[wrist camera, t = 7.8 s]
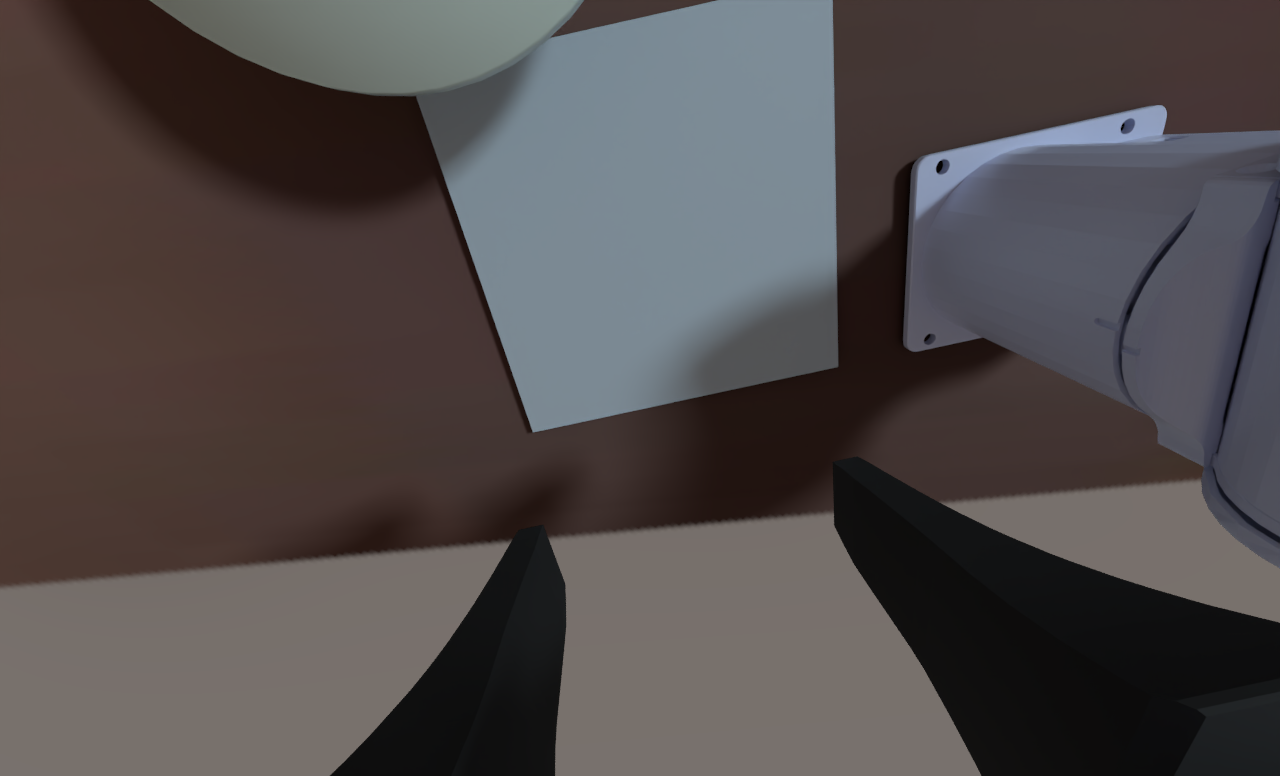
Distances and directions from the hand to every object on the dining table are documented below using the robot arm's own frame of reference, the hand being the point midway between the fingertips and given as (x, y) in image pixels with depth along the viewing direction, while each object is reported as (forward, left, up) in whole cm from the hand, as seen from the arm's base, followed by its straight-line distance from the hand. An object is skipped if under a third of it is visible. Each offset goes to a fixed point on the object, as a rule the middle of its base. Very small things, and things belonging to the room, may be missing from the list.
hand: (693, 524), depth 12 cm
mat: (-1, -5, -10) cm, 12 cm away
